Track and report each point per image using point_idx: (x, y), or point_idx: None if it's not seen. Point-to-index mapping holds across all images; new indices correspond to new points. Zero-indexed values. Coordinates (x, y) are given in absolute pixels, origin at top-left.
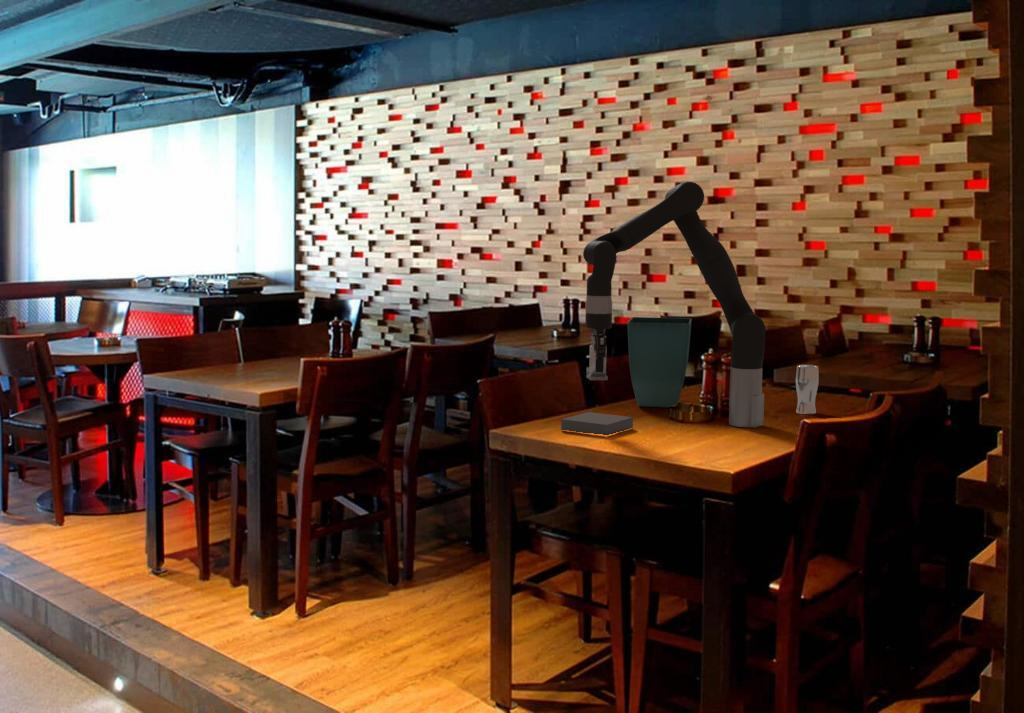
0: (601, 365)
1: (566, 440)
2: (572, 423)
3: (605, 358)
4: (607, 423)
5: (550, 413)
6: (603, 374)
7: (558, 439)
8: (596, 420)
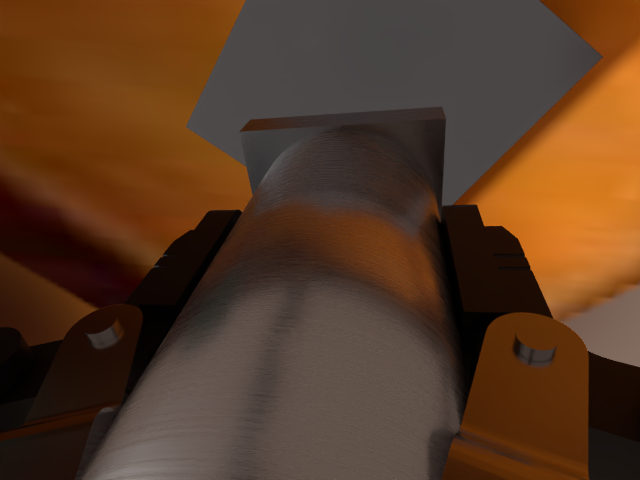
0: (527, 281)
1: (595, 232)
2: None
3: (398, 271)
4: (554, 48)
5: (30, 235)
6: (423, 176)
7: (564, 257)
8: (442, 107)
